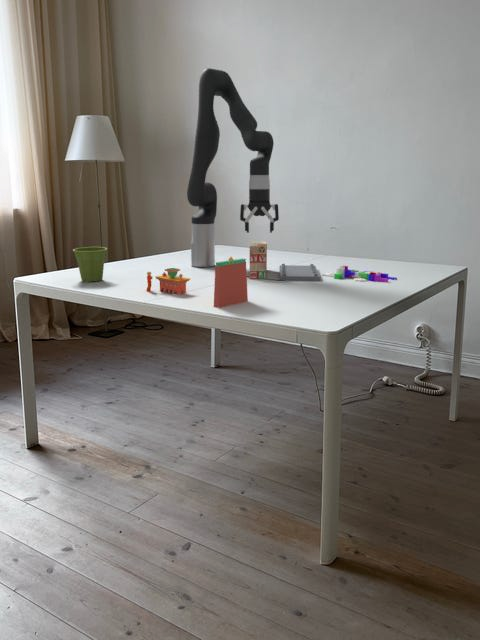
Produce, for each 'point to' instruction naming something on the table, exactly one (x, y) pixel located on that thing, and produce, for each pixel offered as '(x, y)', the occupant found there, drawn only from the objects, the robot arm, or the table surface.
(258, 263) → the stack of blocks
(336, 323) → the table surface
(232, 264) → the toy building block set
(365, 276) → the building block set
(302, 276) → the baseplate
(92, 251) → the plant pot
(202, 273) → the table surface
